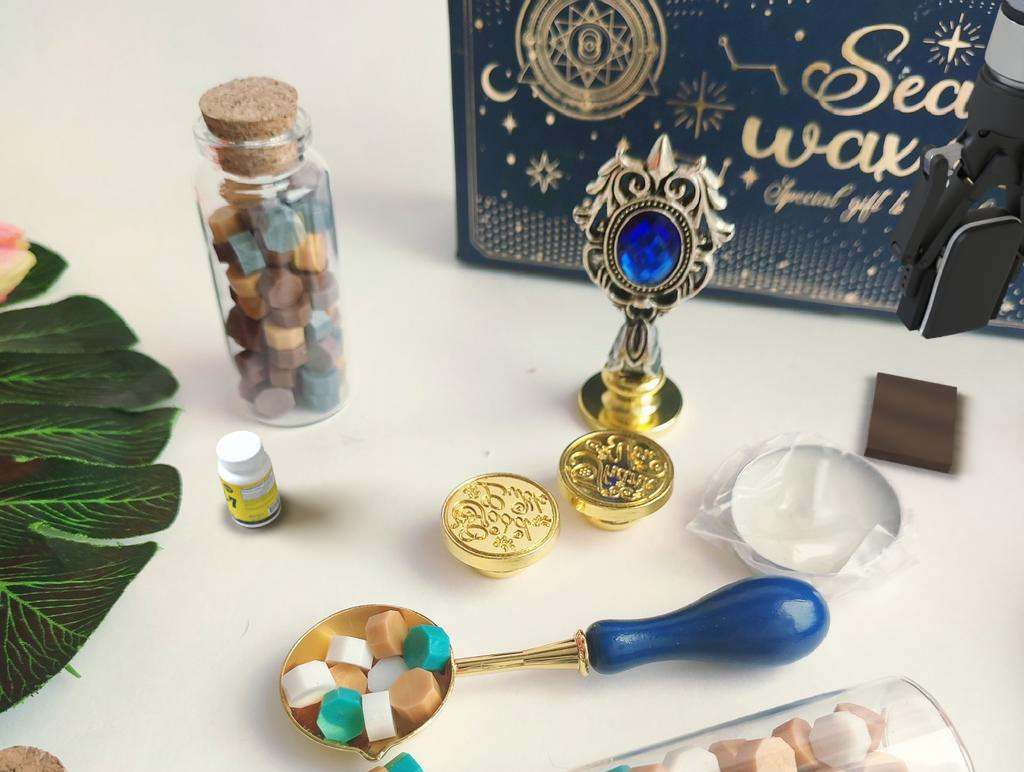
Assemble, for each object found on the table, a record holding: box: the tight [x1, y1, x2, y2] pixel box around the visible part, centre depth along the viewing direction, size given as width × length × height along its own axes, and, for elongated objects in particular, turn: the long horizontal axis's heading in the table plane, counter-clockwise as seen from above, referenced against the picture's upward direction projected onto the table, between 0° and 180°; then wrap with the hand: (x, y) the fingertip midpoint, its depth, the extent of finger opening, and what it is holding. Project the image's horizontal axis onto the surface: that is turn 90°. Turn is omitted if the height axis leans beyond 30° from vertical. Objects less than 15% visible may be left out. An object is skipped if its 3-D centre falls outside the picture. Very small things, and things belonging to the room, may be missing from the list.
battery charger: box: [916, 205, 1024, 340], centre depth 95 cm, size 7×4×11 cm, turn 107°
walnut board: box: [863, 371, 958, 474], centre depth 108 cm, size 12×8×1 cm, turn 162°
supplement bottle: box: [216, 430, 282, 528], centre depth 98 cm, size 5×5×8 cm
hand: (945, 316), depth 99 cm, fingers closed on battery charger, 7 cm apart
